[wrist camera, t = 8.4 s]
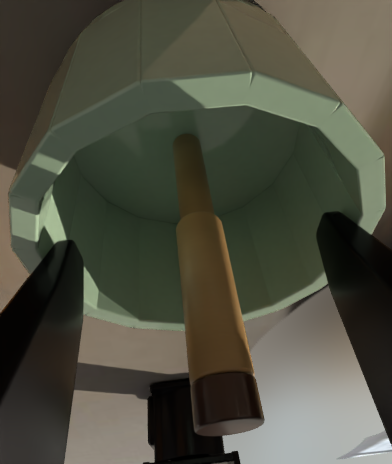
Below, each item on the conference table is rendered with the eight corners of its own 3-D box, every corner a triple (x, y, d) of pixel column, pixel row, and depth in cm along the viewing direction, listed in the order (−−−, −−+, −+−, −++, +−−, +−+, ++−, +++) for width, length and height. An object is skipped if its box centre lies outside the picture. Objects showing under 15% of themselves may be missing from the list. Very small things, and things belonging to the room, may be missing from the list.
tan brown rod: (204, 127, 12) (269, 415, 6) (204, 157, 13) (261, 431, 7) (166, 130, 12) (192, 425, 6) (169, 161, 12) (196, 439, 7)
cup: (342, -28, 9) (473, 51, 6) (287, 210, 16) (329, 314, 12) (-1, -2, 9) (-100, 102, 5) (94, 230, 16) (79, 343, 12)
